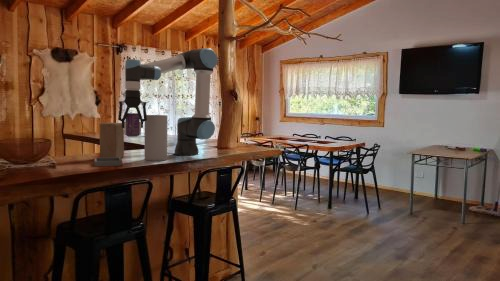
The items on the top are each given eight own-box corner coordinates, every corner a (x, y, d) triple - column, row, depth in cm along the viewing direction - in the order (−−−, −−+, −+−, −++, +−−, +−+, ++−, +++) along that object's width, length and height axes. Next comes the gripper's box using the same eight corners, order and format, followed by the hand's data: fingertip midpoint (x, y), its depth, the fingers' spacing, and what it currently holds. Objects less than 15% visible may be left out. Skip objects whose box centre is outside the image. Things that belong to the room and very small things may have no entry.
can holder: (120, 161, 216) (120, 157, 216) (122, 165, 204) (122, 160, 204) (94, 162, 211) (94, 157, 211) (94, 166, 199) (94, 161, 199)
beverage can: (127, 135, 213) (128, 112, 212) (141, 136, 213) (141, 113, 211) (123, 136, 206) (123, 113, 205) (137, 137, 206) (137, 113, 204)
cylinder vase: (152, 162, 219) (152, 116, 216) (140, 159, 227) (140, 115, 224) (171, 159, 228) (171, 115, 225) (158, 157, 236) (158, 114, 234)
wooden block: (115, 159, 222) (115, 123, 220) (99, 159, 224) (98, 123, 222) (124, 157, 232) (124, 123, 230) (108, 156, 234) (108, 122, 232)
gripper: (151, 90, 214) (150, 133, 216) (112, 89, 207) (111, 133, 209) (153, 90, 207) (152, 135, 209) (113, 88, 200) (112, 135, 202)
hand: (132, 134), depth 209 cm, fingers closed on beverage can, 7 cm apart
